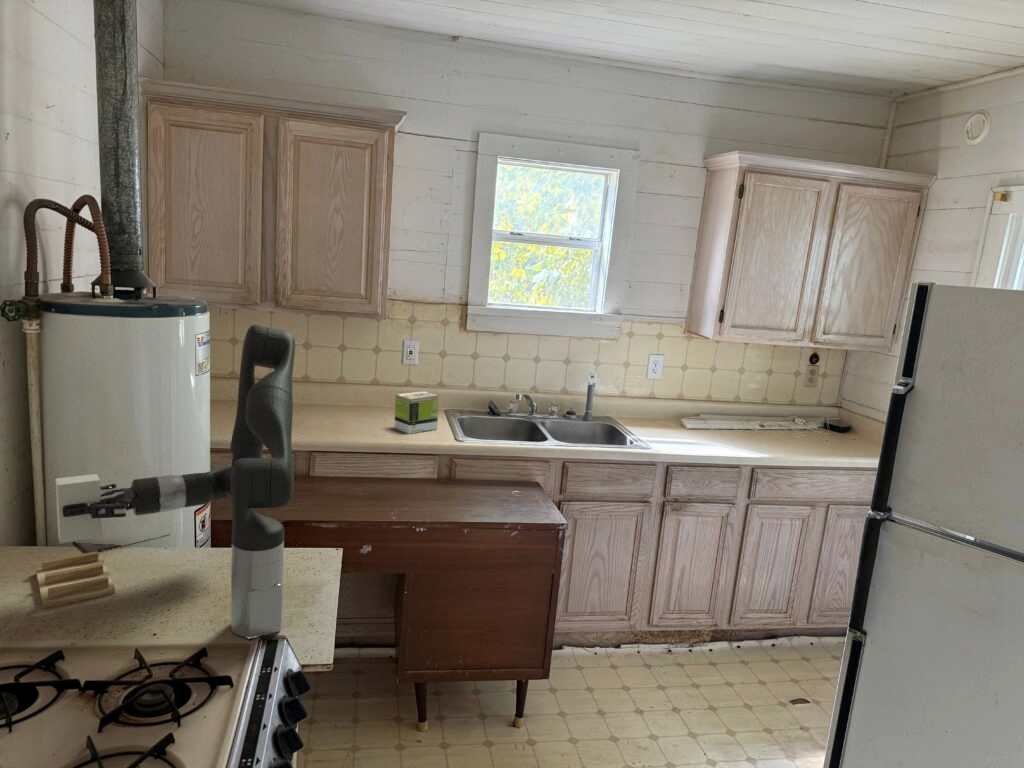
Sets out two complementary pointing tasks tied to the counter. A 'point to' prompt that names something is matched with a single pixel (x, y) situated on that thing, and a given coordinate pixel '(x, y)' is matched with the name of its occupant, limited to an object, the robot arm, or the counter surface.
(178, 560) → the counter surface
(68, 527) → the clay slab
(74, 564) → the rack
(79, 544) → the chocolate bar
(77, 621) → the counter surface
